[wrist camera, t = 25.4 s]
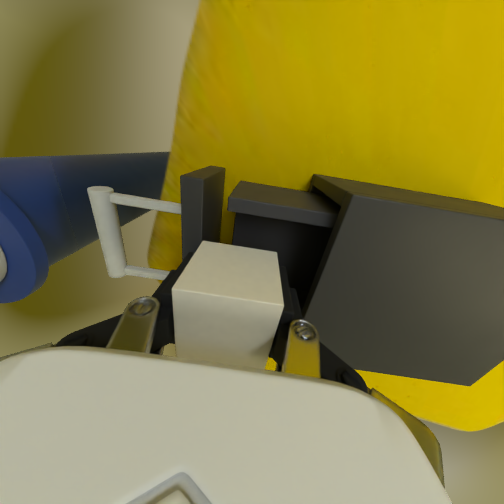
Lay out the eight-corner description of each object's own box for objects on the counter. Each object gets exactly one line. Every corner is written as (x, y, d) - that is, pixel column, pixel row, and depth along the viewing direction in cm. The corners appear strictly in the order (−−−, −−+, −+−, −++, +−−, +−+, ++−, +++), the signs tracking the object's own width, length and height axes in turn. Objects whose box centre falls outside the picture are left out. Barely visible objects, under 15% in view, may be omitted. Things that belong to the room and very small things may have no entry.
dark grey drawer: (138, 269, 20) (91, 314, 15) (118, 149, 15) (34, 150, 10) (328, 299, 21) (351, 353, 15) (376, 193, 16) (438, 218, 10)
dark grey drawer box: (279, 291, 22) (287, 359, 15) (313, 173, 16) (353, 194, 9) (404, 310, 22) (470, 386, 15) (482, 202, 16) (653, 245, 9)
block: (200, 297, 14) (175, 358, 10) (202, 240, 11) (170, 288, 8) (263, 306, 14) (264, 370, 10) (277, 251, 12) (284, 305, 8)
